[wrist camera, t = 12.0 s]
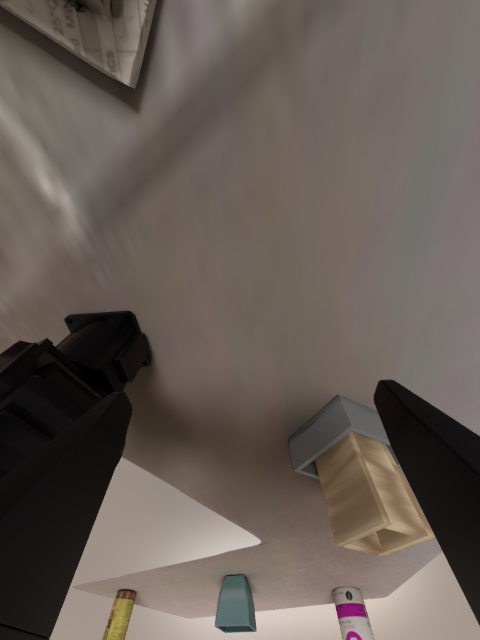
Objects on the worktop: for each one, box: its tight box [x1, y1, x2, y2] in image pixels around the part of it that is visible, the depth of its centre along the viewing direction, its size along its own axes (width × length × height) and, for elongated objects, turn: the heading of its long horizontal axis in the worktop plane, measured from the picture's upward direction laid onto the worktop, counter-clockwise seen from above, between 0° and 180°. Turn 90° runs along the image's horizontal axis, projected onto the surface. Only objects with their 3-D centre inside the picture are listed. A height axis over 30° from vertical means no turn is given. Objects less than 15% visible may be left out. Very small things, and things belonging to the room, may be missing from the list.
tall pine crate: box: [315, 431, 435, 556], centre depth 25 cm, size 6×6×10 cm
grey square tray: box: [288, 395, 401, 480], centre depth 29 cm, size 10×10×4 cm
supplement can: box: [333, 587, 374, 640], centre depth 64 cm, size 8×8×15 cm
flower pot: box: [215, 575, 256, 633], centre depth 62 cm, size 9×9×9 cm
